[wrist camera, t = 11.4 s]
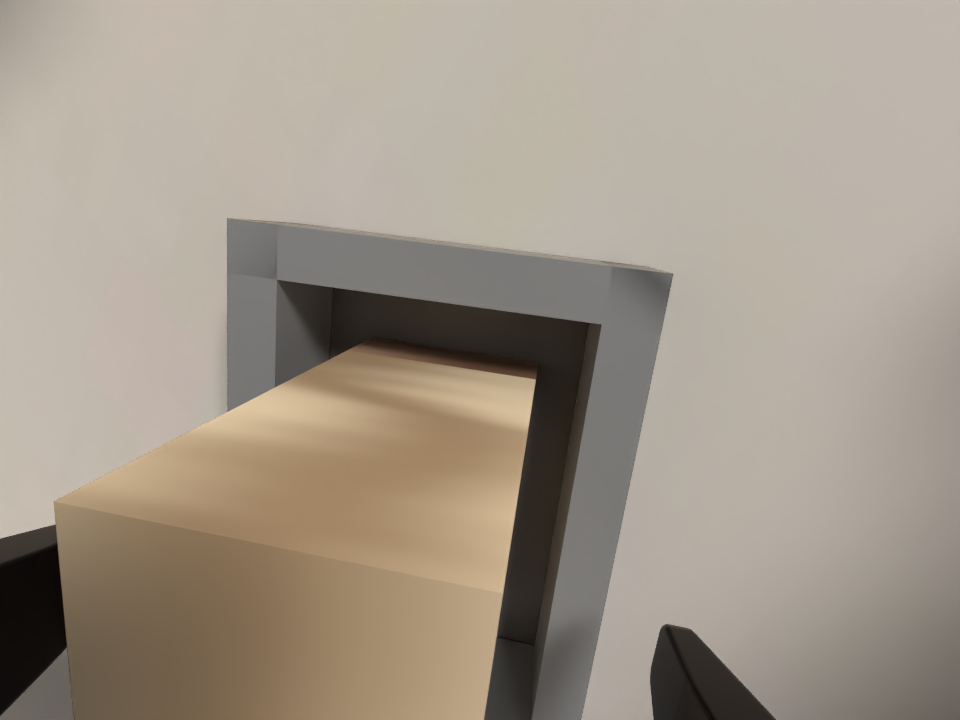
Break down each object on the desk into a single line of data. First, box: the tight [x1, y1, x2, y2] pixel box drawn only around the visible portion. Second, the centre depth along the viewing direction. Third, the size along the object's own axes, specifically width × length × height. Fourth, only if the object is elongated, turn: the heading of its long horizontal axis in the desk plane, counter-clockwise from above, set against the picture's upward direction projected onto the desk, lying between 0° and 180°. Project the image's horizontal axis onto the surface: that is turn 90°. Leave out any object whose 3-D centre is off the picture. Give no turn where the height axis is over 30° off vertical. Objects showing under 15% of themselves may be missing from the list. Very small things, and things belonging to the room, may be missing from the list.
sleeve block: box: [54, 338, 538, 720], centre depth 9 cm, size 4×6×8 cm, turn 173°
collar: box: [227, 218, 673, 720], centre depth 11 cm, size 11×8×2 cm
